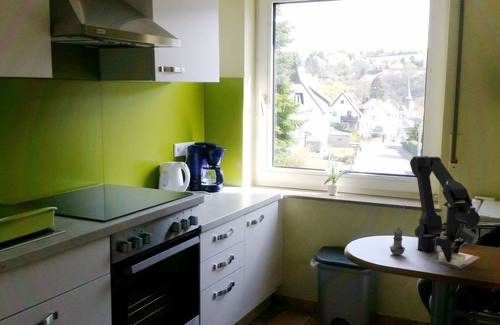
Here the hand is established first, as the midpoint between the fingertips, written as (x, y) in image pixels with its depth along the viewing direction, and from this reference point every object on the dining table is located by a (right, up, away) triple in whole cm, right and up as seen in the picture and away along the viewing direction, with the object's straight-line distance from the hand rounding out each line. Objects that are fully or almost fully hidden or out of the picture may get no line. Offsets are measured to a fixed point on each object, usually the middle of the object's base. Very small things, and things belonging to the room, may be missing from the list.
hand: (451, 260), depth 197 cm
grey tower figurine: (-18, 0, +9) cm, 20 cm away
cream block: (0, -1, 0) cm, 1 cm away
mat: (+2, -1, +6) cm, 6 cm away
